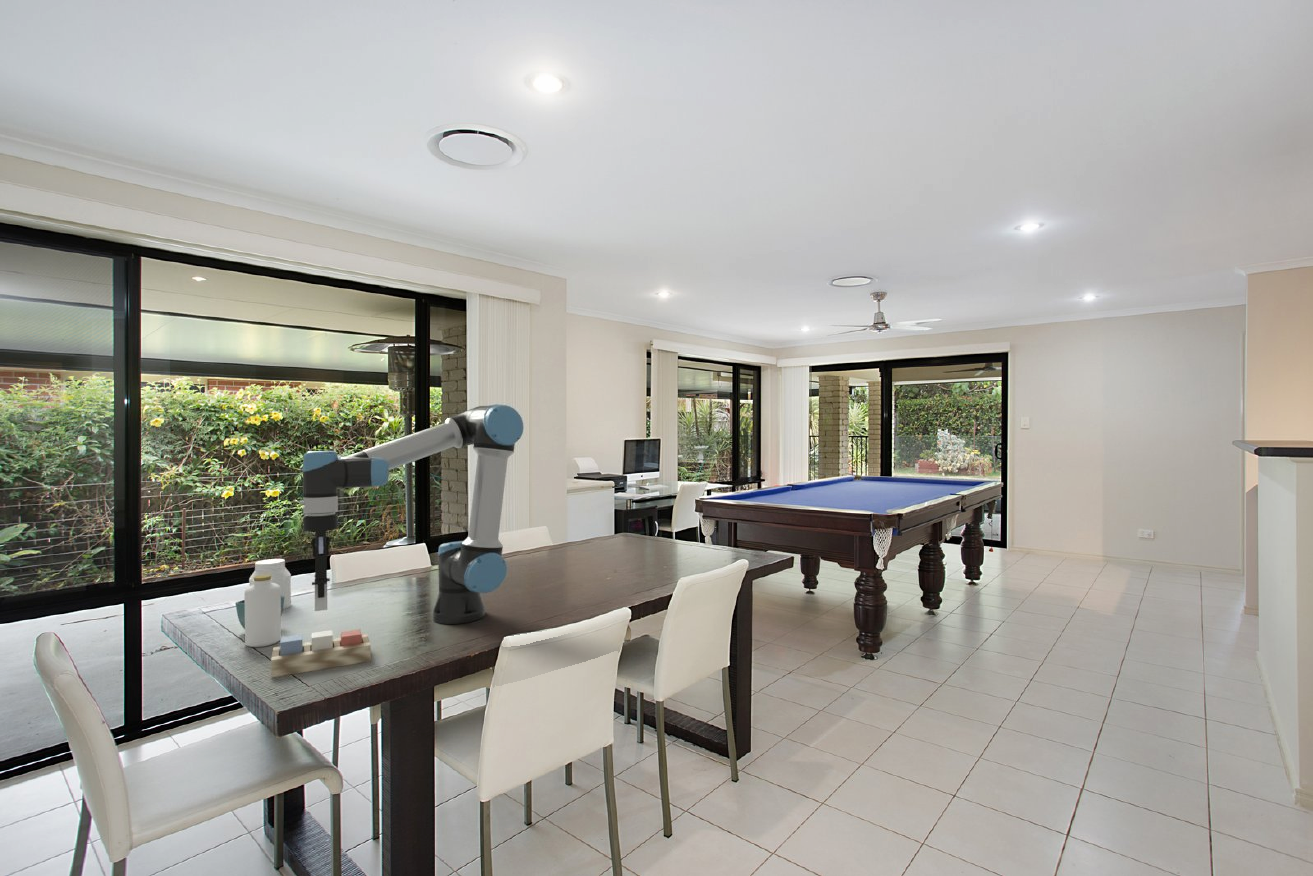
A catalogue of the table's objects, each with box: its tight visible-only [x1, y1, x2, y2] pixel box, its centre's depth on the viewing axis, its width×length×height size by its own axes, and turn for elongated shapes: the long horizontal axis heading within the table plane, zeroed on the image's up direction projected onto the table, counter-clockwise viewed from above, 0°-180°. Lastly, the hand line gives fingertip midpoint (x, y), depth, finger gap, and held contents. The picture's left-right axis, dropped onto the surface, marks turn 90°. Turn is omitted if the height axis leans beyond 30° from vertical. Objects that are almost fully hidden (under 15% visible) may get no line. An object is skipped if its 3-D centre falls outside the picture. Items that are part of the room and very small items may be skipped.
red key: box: [340, 628, 362, 646], centre depth 159 cm, size 4×4×5 cm
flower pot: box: [235, 596, 285, 630], centre depth 181 cm, size 9×9×9 cm
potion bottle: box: [243, 575, 282, 648], centre depth 170 cm, size 8×8×18 cm
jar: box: [248, 558, 292, 610], centre depth 205 cm, size 12×10×15 cm
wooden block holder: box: [270, 633, 372, 678], centre depth 156 cm, size 21×10×4 cm, turn 119°
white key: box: [311, 629, 334, 651], centre depth 156 cm, size 4×4×5 cm
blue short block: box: [279, 634, 304, 656], centre depth 152 cm, size 4×4×5 cm
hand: (321, 609), depth 155 cm, fingers closed
